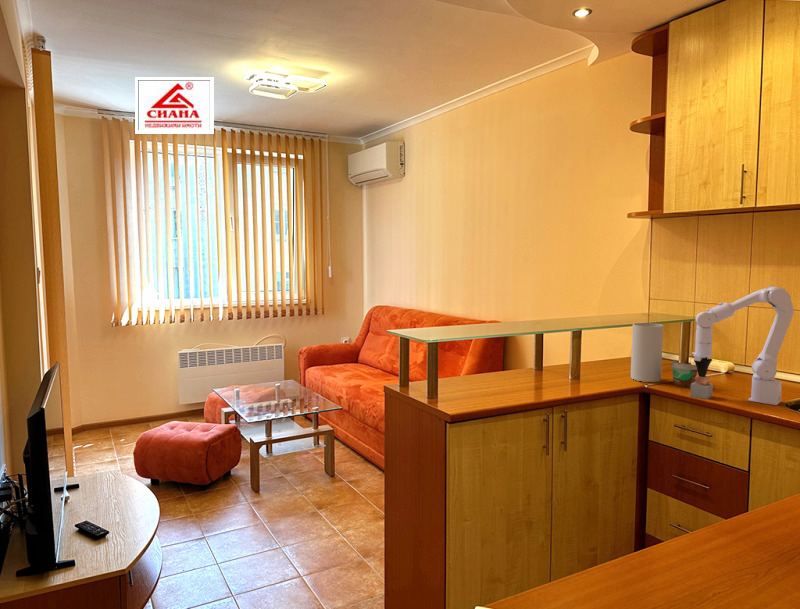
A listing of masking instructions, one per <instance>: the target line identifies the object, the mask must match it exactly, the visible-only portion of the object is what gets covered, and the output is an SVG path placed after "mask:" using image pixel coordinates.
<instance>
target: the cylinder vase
mask: <svg viewBox="0 0 800 609" xmlns="http://www.w3.org/2000/svg"><path fill="white" fill-rule="evenodd" d="M631 329H632V330H631V332H632V333H631V335H632V336H631V356H630V358H631V360H630V379H631V378H632V379H631V380H633V379H634V380H633V381H635V380H638V381H637V382H639V381H642V382H641V383H648V382H654V383H659V382H661V380H662V365H663V359H662V358H663V342H664V340H663V338H664V325H663V324H660V323H653V322H636V323H632V328H631Z"/></svg>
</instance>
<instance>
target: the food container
mask: <svg viewBox="0 0 800 609" xmlns="http://www.w3.org/2000/svg"><path fill="white" fill-rule="evenodd" d="M670 366H671V368H672V380H673V381H672V383H673V385H674V386H676V387H678V388H679V387H680V388H686V387H687V389H688V388H689V389H691V384H692V383H694V382H695V377H696V376H698V371H697V366H696V364H690V363H687V362H684V363H683V362H679V361H678V362H677V359H674V360H672V362H671V363H670Z"/></svg>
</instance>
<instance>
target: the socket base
mask: <svg viewBox="0 0 800 609" xmlns="http://www.w3.org/2000/svg"><path fill="white" fill-rule="evenodd" d="M689 389H690V392H689V395H690V397H691V396H692V398H696V399H697V398H698V399H703V400H708V399H710V398H712V397H713V383H710V382H709V385H708V386H703V385H696V384H695V382H694V383H692V384H691V388H689Z"/></svg>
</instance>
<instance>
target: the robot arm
mask: <svg viewBox="0 0 800 609" xmlns="http://www.w3.org/2000/svg"><path fill="white" fill-rule="evenodd" d="M756 303H763V304H764V303H765V304H766V303H768V304H770V306H771V307H772V308H773V310H774V311H775V312H776V315H775V317H774V319H773V322H772V323H771V324H772V325H771V327H770V329H769V332H768V335H767V338H766V339H765V340H766V341H765V343H764V345H763V348H762V350H761V352H759V354H758V355H757V358H756V359H755V360H754V361H753V362H751V363H752V364H751V370H752V372H753V375H752V376H751V390H750V391H751V392H750V393H751V396H750V397H749V398H748V399H747V401H748V402H754V403H761V404H765V405H771V406H773V405H774V406H778V405H779V404H780V403H781V402H782V385H783V384H782V381H781V380H777V379H776V378H775V377H776V375H777V365H778V355H779V352H780V351H781V348H782V345H783V342H784V340H785V337H786V335H787V333H788V329H789V327H790V325H791V322H792V319H793V316H794V314H795V310H794V306H793V303H792V295H791V294H789V291H787V289H785V288H783V287H777V286H774V285H772V286H771V285H769V286H767V287H765V288H761V289H758V290H757V291H754V292H752V293H750V294H748V295H745V296H743V297H741V298H740V299H736V300H735V301H733V302H731V303H729V302H726V301H725V302H719V303H718V304H717V305H716V306H714V307H711V308H706V309H705V311H701V312H699V313H697V315H696V316H695V318H694V320H695V322H696V327H695V328H696V330H695V344H694V346H695V347H694V351H693V352H691V355H694V358H693V361H694V365H696V366H697V376H698V375H699V376H700V377H705V376H707V373H708V369H709V367H710V365H711V363H712V361H713V359H712V358H711V357H713V354H712V353H713V352H712V349H713V347H712V346H713V334H714V333H713V326H714V325H715V323H719V322H721V321H724V320H726V319H729V318H730V317H733V316H734V315H735V312H736V311H738V310H741V309H743V308H746V307H748V306H751V305H754V304H756Z"/></svg>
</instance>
